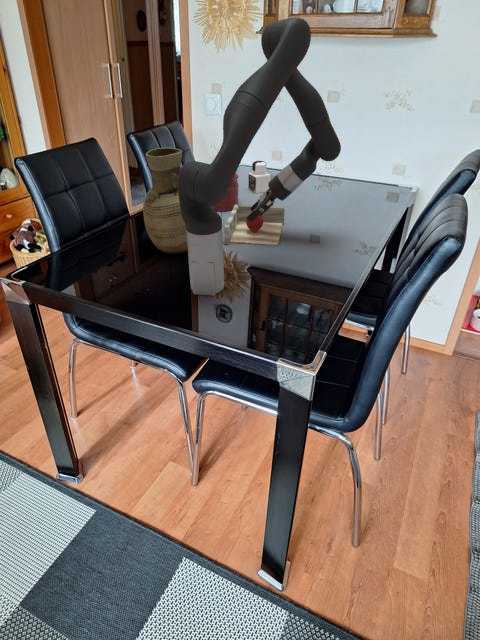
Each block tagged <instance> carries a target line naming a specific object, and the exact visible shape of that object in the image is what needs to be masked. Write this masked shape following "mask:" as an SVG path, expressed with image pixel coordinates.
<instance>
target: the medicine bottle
mask: <svg viewBox="0 0 480 640" xmlns="http://www.w3.org/2000/svg"><path fill="white" fill-rule="evenodd" d="M251 164H252V166H251V167H252V168H251V172H248V190H250V191H251V192H253V193H255V194H259V193H265V192H266V191H267V190H268V189H269V186H268V183H269V182H270V181H271V174H270V173H268V172H267V162H266V161H264V160H256V161H255V160H254V161H253V162H252V163H251Z"/></svg>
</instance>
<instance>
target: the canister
mask: <svg viewBox="0 0 480 640" xmlns="http://www.w3.org/2000/svg"><path fill="white" fill-rule="evenodd" d="M238 178H239V174H238V173H237V172H236V173H235V175H234V178H233V180H232V182H231V184H230V187H229V189H228V191H227V193H226V194H225V196H224V198H223V199H222V200H221V201H220V202H219V203H218V204H216V205H214V206H211V207H212V208H213V209H214V210H215V211H216V212H229V211H232V210H233V208H234V206H235V205H240V204H239V203H240V202H239V201H240V199H239V182H238Z"/></svg>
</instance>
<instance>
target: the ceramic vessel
mask: <svg viewBox="0 0 480 640" xmlns="http://www.w3.org/2000/svg"><path fill="white" fill-rule="evenodd" d="M145 158H146V161H147V165H148V166H149V169H150V172H151V173H150V174H151V184H152V187H151V188H150V189H148V191H147V192H146V195H145V197H144V200H143V205H142V212H143V222H144V227H145V230H146V233H147V235H148V237H149V239H150V241H151V243H152V244H153V245H154V247H156V249H158V250H159V251H160V252H163V253H164V254H181V253H188V248H187V235H186V225H185V222H184V221H183V218H182V215H181V209H180V202H179V195H178V175H179V172H180V169H181V168H182V167H181V165H182V158H183V150H182V149H179V148H175V147H158V148H152V149H150V150H149V151H147V152H146V153H145Z"/></svg>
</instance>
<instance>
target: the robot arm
mask: <svg viewBox="0 0 480 640" xmlns="http://www.w3.org/2000/svg"><path fill="white" fill-rule="evenodd" d="M311 40H312V32H311V27H310V25H309V23H308V22H307V20H306V19H304V18H301V17H288V18H285V19H280V20H275V21H273V22H270V23H269V24H267V25H266V26H265V27H264V29H263V31H262V33H261V48H262V52H263V54H264V55H263V56H264V57H265V59H266V61H265V63H264V64H263V65H262V66H260V67H259V68H258V69H257V70H256V71H255V72H254V73H253V74H251V75H250V76H249V77H247V79H245V80H244V82H243V83H242V84H241V85H239V87H238V88H237V90H236V91H235V92H234V94H233V95H232V98H231V100H230V101H229V103H228V104H227V106H226V107H225V110H224V112H223V119H222V135H223V138H222V144H221V146H220V149H219V151H218V152H217V155H216V156H215V157H214V159H213V160H212V162H211V163H206V162H202V161H198V160H189V161H187V162H185V163H184V164H183V165H182V166H181V167H180V168H181V169H180V172H179V175H178V195H179V202H180V209H181V215H182V218H183V221H184V222H185V225H186V235H187V248H188V251H187V257H188V258H187V259H188V270H189V280H190V282H189V283H190V289H191V291H192V294H193V295H203V296H211V297H212V296H214V297H215V296H216V295H217V294H218V293H220V292H222V291H223V290H224V288H225V272H224V244H223V243H224V242H223V240H224V239H223V219H222V217H221V215H220V214H219V213H218V211H215V210H214V209H213V208H212V207H211V206H214V205H216V204H218V203H219V202H220V201H221V200H222V199H223V198H224V196H225V194H226V193H227V191H228V189H229V187H230V184H231V182H232V180H233V178H234V175H235V173H236V174H237V171H238V169H239V166H240V164H241V162H242V160H243V158H244V156H245V154H246V153H247V150H248V149H249V147H250V145H251V144H252V141H253V140H254V138H255V136H256V135H257V134H258V132H259V129H260V128H261V127H262V125H263V124H264V121H265V120H266V118H267V116H268V114H269V113H270V110H271V108H272V106H273V105H274V103H275V102H276V100H277V98H278V97H279V95H280V94H281V92H282V90H283V88H285V90H286V91H287V93H288V94H289V96H290V97H291V99H292V100H293V102H294V104H295V107H296V108H297V110H298V113H299V115H300V117H301V119H302V121H303V124H304V126H305V128H306V130H307V132H308V133H309V135H310V137H311V138H309V141H308V142H307V143H306V144H305V146H304V147H303V149H302V151H301V152H300V153H299V155H297V156H296V157H295V158H294V159H293V160H292V161H290V163H289V164H288V165H286V166H285V167H283V168H282V169H281V170H280V171H279V172H278V173H277V174H276V175H275V176H274V177H272V179H270V182H269V183H268V186H269V189H268V190H267V191H266V192H263V193H262V194H261V195H260V196H259V198H258V200H257V201H256V202H255V203H254V204H253V206H252V207H251V210H252V211H253V212H252V213H250V214H249V215H248V216H247V219H248V220H249V221H250V222H252V221H253V220H254V219H255V218H257V217H258V216H262V214H264V213H265V212H266V211H267V210H268V209H269V208H270V207H271V206H274V204H275V202H276V199H278V200H280V201H285V200H286V199H288V197H290V195H291V194H293V193H294V192H295V191H296V190H297V189H298V188H299V187H301V185H302V184H303V183H304V182H305V181H306V180H307V179H309V178H310V176H312V174H314V173H315V171H316V170H317V164H318V161H319V160H320V159H321V160H322V161H325V162H332V161H335V160H336V159H337V158H338V157H339V156H340V154H341V151H342V145H341V142H340V140H339V136H338V135H337V132H336V131H335V129H334V126H333V125H332V123H331V119H330V116H329V113H328V110H327V107H326V105H325V102H324V100H323V98H322V96H321V94H320V92H318V90H317V89H316V87H315V86H313V84H311V82H310V81H308V80H307V79H306V78H305V77H304V75H303V73H301V71H300V70H299V69H298V67H299V65H300V64H301V62H303V60H305V59H304V58H305V57H306V55H307V53H308V51H309V48H310V45H311ZM260 208H262V211H260V210H259V209H260Z"/></svg>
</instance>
